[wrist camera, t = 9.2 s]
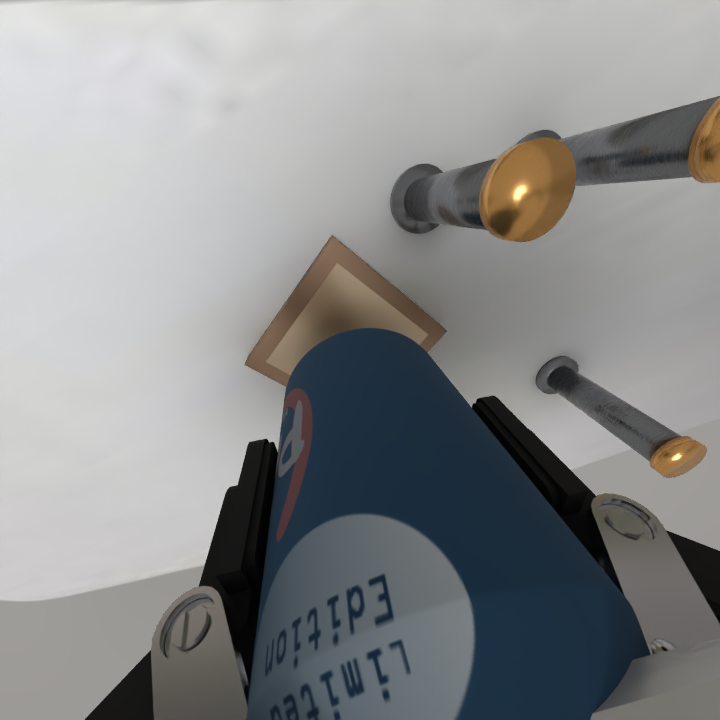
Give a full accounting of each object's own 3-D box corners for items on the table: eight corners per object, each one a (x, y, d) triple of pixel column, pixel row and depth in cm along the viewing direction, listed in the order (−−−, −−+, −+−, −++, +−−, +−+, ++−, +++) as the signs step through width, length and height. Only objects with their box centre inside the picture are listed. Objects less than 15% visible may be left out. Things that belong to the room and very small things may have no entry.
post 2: (540, 115, 15) (812, 7, 7) (570, 164, 16) (827, 121, 8) (493, 173, 15) (683, 138, 8) (524, 214, 17) (716, 221, 9)
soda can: (261, 346, 12) (-3, 1116, 2) (414, 296, 12) (996, 779, 2) (316, 454, 16) (332, 943, 5) (436, 414, 16) (689, 822, 5)
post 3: (561, 349, 22) (704, 429, 14) (581, 369, 23) (721, 453, 15) (528, 379, 23) (645, 470, 15) (549, 397, 24) (666, 489, 16)
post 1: (419, 149, 14) (551, 80, 7) (459, 195, 16) (610, 183, 8) (378, 205, 15) (452, 203, 7) (419, 245, 17) (519, 279, 9)
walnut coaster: (332, 235, 16) (333, 237, 15) (440, 325, 19) (447, 331, 18) (247, 357, 18) (244, 365, 17) (357, 416, 22) (360, 426, 21)
